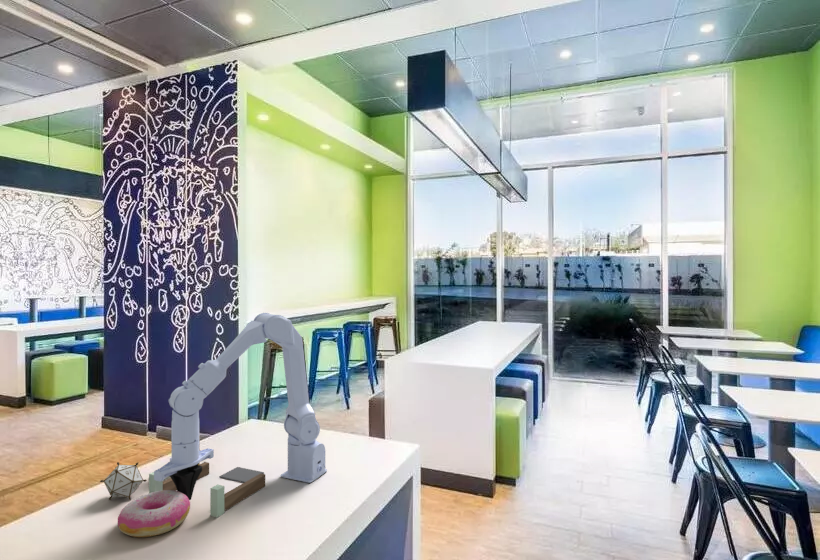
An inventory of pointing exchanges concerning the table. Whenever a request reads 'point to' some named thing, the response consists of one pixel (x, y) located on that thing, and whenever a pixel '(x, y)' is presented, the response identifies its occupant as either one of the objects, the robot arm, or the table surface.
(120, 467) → the game die
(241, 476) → the grey flat panel
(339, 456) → the table surface
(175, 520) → the donut
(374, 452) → the table surface
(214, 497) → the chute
